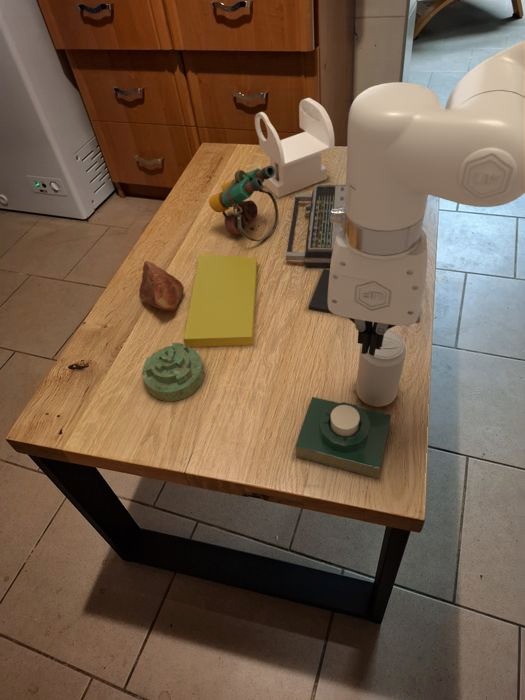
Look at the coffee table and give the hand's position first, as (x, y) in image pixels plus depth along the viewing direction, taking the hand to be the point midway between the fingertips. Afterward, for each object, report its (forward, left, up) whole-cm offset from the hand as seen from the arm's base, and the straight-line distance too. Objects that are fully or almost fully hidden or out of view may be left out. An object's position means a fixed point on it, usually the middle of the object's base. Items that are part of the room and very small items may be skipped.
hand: (369, 346), depth 61 cm
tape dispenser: (+30, -63, -17) cm, 72 cm away
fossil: (+43, -16, -17) cm, 49 cm away
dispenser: (+2, +5, -17) cm, 17 cm away
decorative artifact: (+32, +1, -17) cm, 36 cm away
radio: (+15, -45, -17) cm, 51 cm away
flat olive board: (+31, -19, -17) cm, 40 cm away
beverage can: (-1, -5, -17) cm, 18 cm away
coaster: (+9, -26, -17) cm, 32 cm away
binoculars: (+35, -42, -17) cm, 57 cm away
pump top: (+2, +5, -12) cm, 13 cm away
